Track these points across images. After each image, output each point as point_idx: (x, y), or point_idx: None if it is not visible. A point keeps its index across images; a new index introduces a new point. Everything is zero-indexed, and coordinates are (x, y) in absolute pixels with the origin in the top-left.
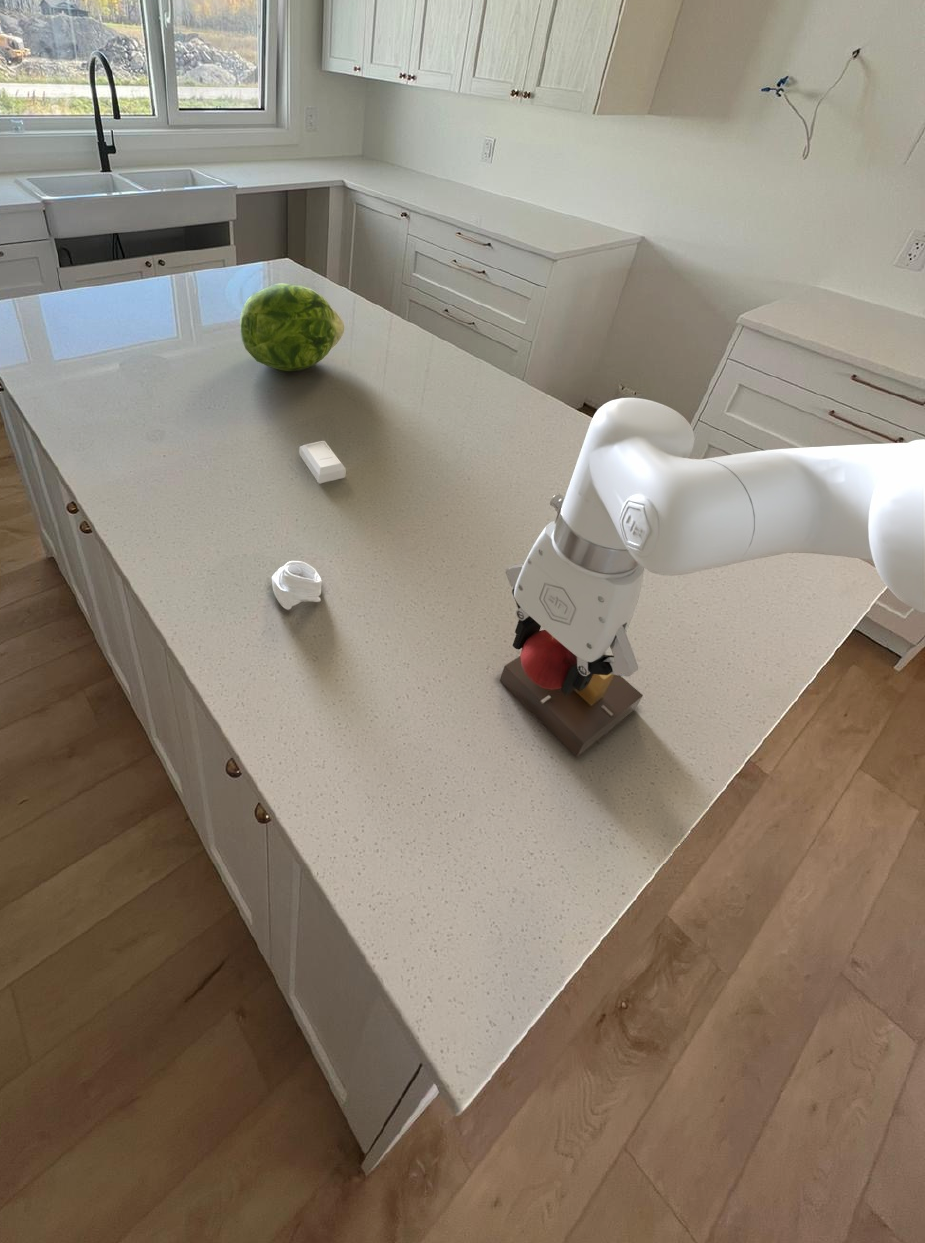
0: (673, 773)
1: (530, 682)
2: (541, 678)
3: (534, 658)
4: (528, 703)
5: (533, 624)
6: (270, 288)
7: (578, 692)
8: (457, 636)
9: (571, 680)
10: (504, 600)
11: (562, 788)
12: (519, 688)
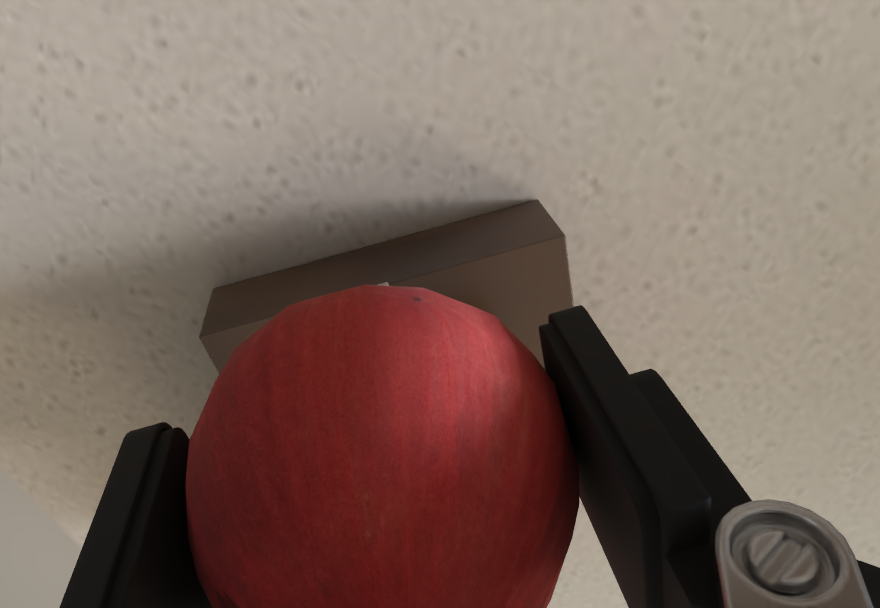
0: None
1: (467, 286)
2: (246, 365)
3: (368, 414)
4: (418, 243)
5: (632, 556)
6: None
7: None
8: (748, 146)
9: (78, 571)
10: (759, 350)
11: (114, 194)
12: (471, 241)
